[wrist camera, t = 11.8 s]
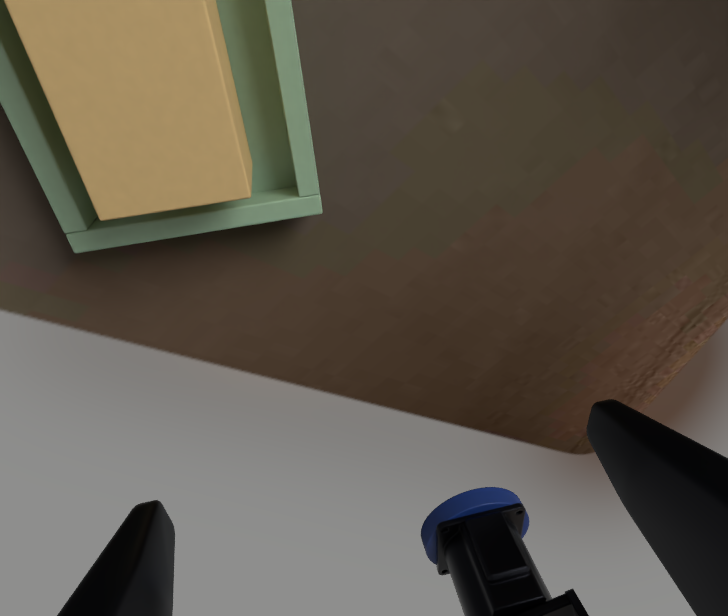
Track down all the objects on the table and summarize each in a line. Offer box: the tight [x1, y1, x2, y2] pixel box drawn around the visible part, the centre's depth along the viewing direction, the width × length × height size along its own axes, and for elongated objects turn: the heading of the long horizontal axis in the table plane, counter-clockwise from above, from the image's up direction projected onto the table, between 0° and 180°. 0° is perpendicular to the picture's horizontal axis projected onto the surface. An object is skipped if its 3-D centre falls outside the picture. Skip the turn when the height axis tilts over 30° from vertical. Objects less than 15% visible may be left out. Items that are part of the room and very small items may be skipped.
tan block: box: [4, 0, 252, 221], centre depth 14 cm, size 8×5×4 cm, turn 5°
